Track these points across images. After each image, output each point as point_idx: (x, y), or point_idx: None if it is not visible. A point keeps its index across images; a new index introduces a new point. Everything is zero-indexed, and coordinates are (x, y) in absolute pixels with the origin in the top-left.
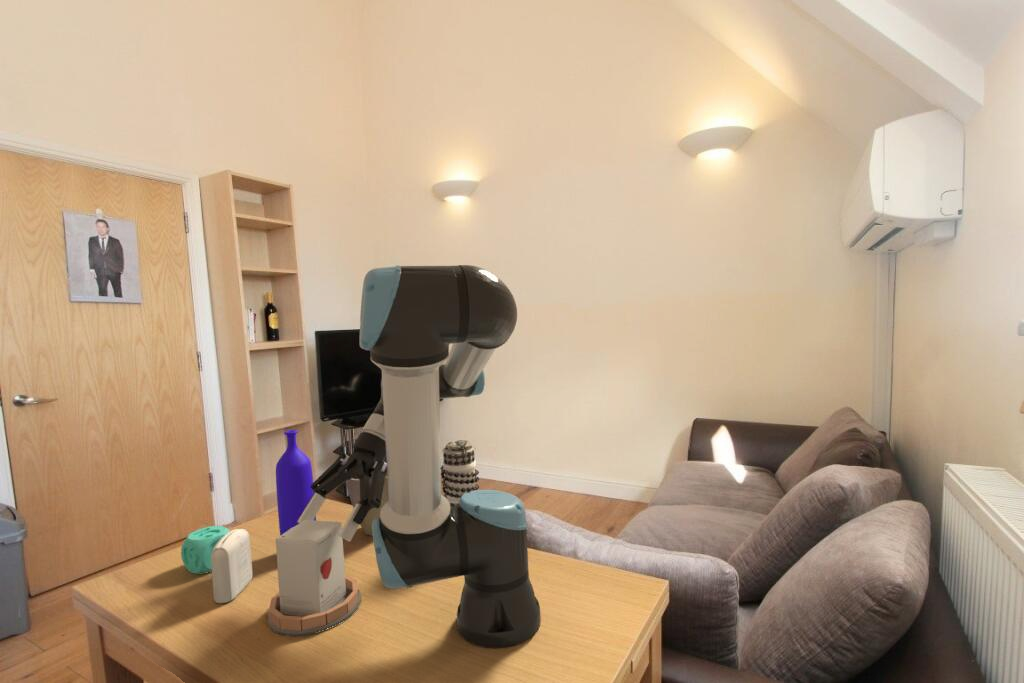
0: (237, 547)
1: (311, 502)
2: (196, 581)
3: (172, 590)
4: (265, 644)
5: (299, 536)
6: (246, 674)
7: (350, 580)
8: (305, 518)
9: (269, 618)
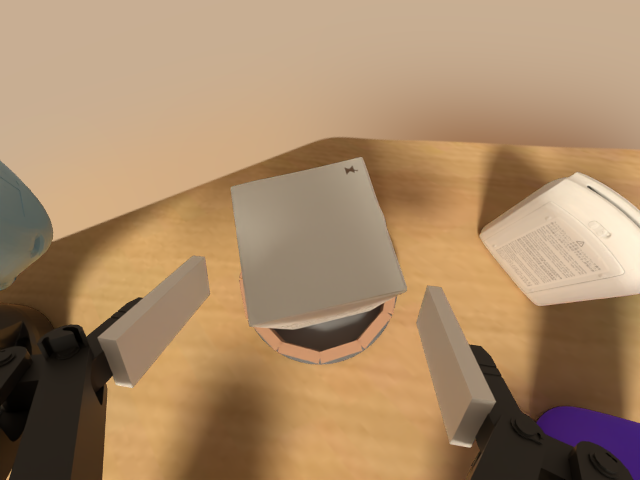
0: (564, 227)
1: (452, 347)
2: None
3: None
4: None
5: (299, 186)
6: (289, 151)
7: (289, 345)
8: (428, 310)
9: None
